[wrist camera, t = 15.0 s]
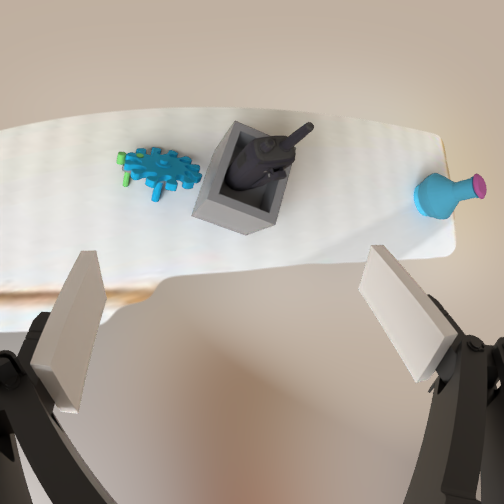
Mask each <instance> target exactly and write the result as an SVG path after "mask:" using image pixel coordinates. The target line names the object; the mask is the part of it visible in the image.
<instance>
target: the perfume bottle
mask: <svg viewBox="0 0 504 504" xmlns="http://www.w3.org/2000/svg"><path fill="white" fill-rule="evenodd" d="M485 195H486V184H485V182H484V179H483V178H482V177H481V176H480V175H479V174H475V175H474V176H473V177H471V178H470V179H467V180H463V181H459V182H453V181H451V180H449V179H447V178H446V177H444V176H442V175H440V174H438V173H433V174H431V175H429V176H428V177H427V178H426V179H425V180H424V181H423V182H421V184H420V185H418V186H417V187H416V188H415V191H414V201H415V205H416V207H417V209H418V211H419V212H420V213H421V214H422V215H424V216H429V217H434V218H436V219H447V218H449V217H450V215H451V214H452V212H453V211H454V209H455V207H456V206H457V204H458V203H459V201H461V200H466V199H470V198H475V197H476V198H481V199H483V198H484V197H485Z"/></svg>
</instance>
